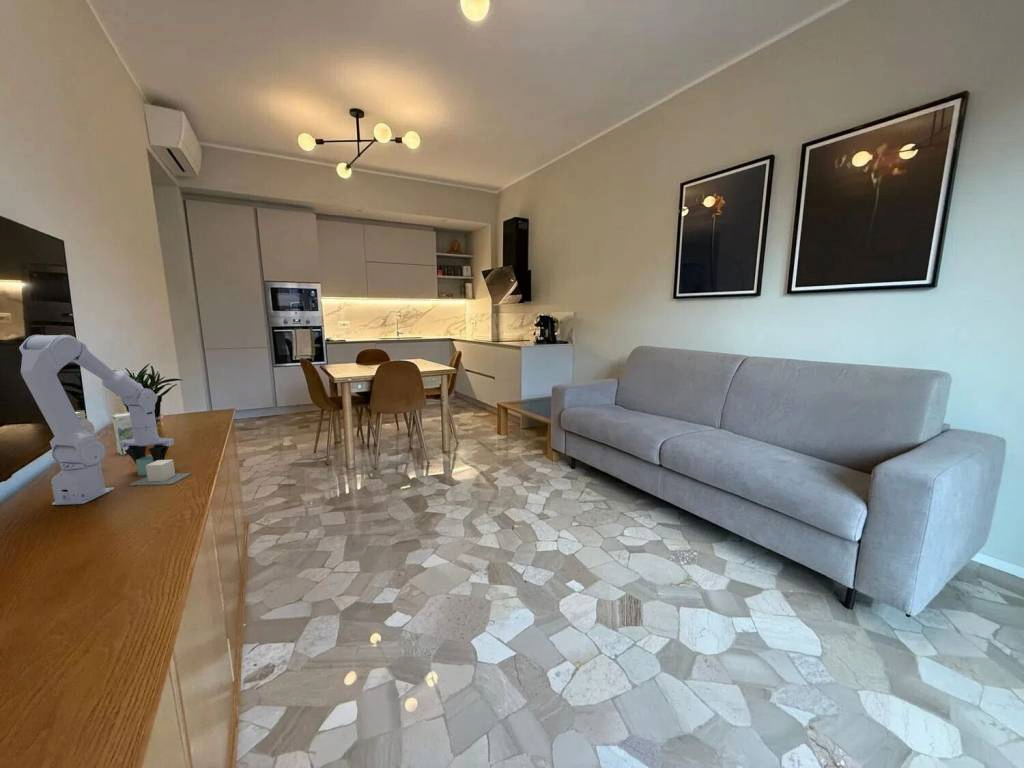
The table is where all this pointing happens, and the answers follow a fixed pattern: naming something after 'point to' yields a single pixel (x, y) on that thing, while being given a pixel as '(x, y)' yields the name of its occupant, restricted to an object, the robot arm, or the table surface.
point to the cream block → (160, 470)
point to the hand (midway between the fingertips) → (151, 468)
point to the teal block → (143, 464)
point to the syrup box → (122, 430)
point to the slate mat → (169, 481)
